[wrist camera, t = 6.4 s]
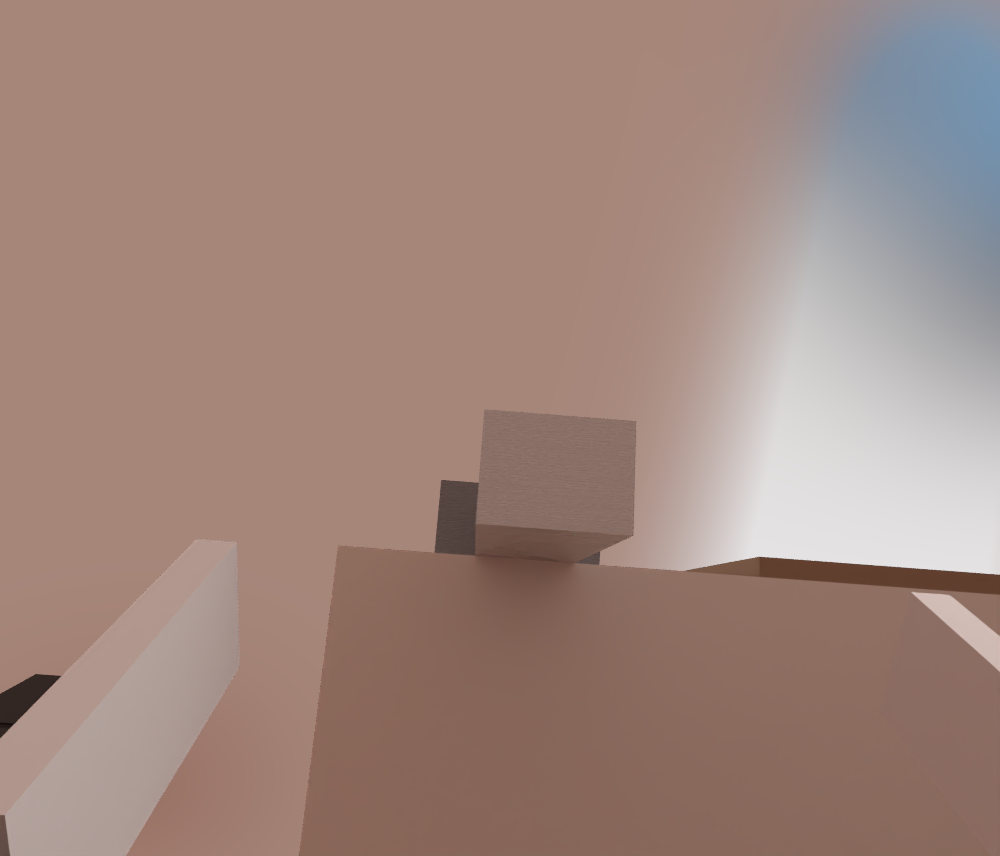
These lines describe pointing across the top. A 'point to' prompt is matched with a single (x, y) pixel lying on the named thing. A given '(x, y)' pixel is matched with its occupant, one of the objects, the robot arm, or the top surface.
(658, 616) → the tall cream pillar block
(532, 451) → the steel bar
